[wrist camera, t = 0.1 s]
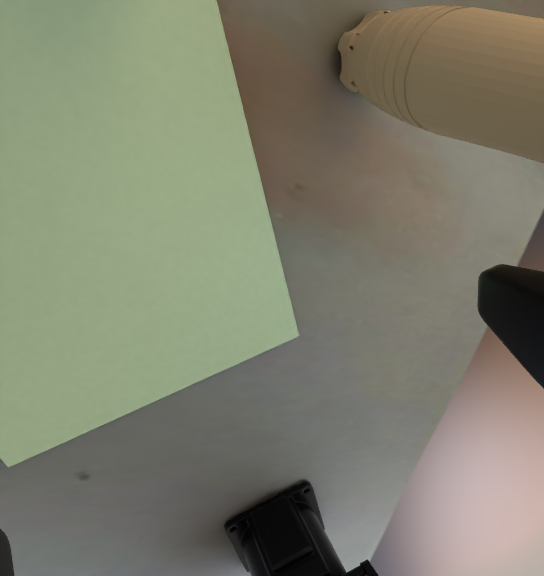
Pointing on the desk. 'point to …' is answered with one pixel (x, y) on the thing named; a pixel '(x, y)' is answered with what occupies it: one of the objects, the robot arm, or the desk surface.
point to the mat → (124, 215)
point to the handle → (453, 73)
